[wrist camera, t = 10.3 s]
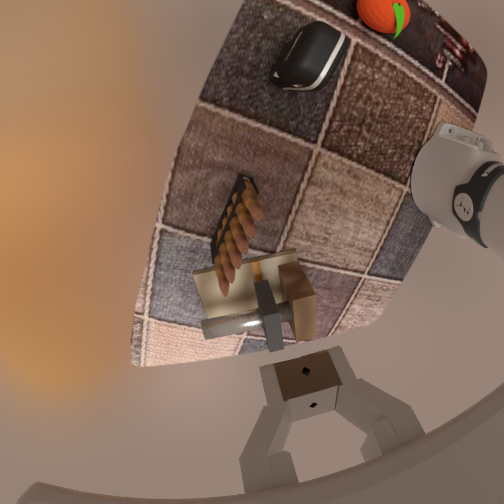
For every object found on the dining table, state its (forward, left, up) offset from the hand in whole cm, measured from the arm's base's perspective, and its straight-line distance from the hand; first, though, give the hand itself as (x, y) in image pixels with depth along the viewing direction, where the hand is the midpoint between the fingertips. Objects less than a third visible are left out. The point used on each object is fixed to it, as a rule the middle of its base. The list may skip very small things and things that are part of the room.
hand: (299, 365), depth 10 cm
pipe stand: (0, +19, -29) cm, 35 cm away
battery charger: (-9, -12, -29) cm, 33 cm away
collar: (-1, +19, -26) cm, 32 cm away
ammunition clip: (+1, +6, -29) cm, 30 cm away
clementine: (-22, -19, -29) cm, 41 cm away
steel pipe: (+1, +19, -24) cm, 31 cm away
